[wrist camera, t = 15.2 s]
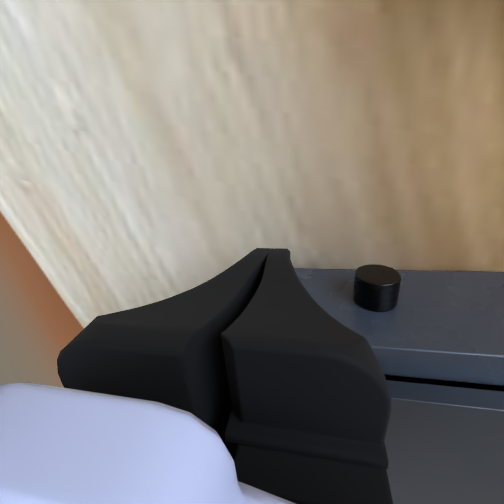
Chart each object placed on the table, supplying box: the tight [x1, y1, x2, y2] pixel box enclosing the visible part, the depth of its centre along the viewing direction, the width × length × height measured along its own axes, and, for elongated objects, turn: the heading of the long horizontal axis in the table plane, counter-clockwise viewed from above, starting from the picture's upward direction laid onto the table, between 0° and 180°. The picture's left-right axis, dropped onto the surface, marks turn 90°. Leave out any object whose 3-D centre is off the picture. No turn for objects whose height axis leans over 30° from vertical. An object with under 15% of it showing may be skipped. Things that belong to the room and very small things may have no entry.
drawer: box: [294, 265, 504, 391], centre depth 13 cm, size 15×12×5 cm
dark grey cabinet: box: [384, 380, 504, 504], centre depth 14 cm, size 14×13×7 cm
